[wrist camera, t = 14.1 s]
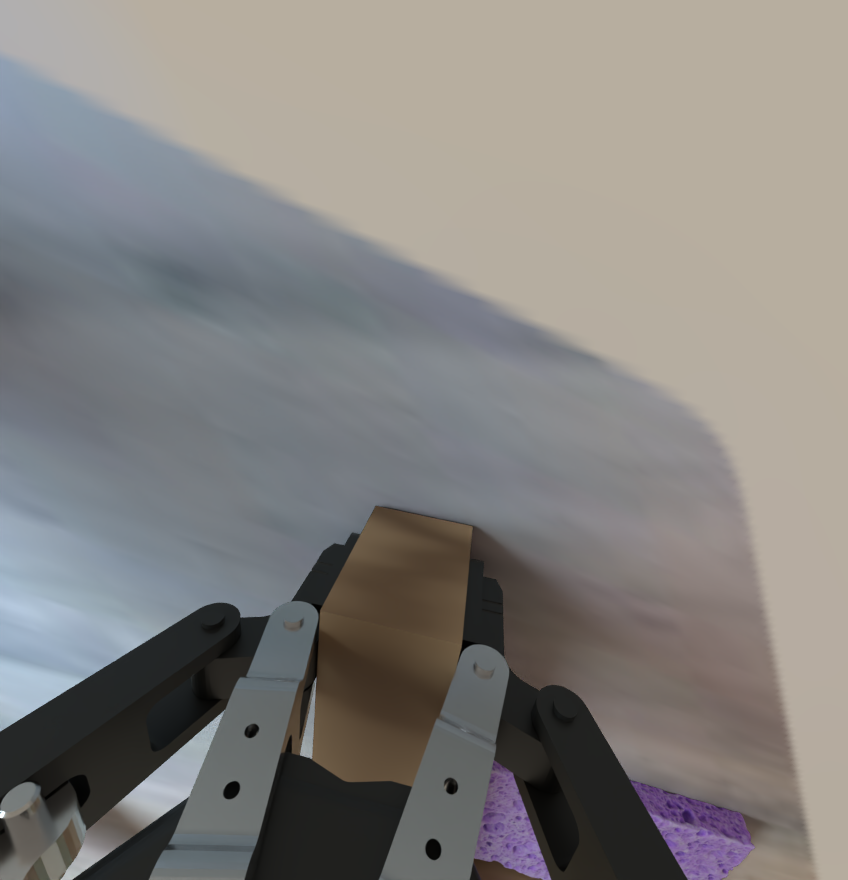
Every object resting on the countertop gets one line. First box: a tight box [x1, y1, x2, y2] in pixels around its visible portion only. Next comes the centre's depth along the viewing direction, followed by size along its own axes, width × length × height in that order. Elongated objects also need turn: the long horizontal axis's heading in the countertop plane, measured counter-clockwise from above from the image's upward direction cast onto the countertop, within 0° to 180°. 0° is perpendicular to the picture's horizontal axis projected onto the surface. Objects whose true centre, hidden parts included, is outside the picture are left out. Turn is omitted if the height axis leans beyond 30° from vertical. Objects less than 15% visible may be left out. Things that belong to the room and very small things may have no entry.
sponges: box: [474, 761, 755, 880], centre depth 19 cm, size 7×13×2 cm, turn 79°
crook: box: [312, 506, 543, 880], centre depth 15 cm, size 14×20×5 cm
